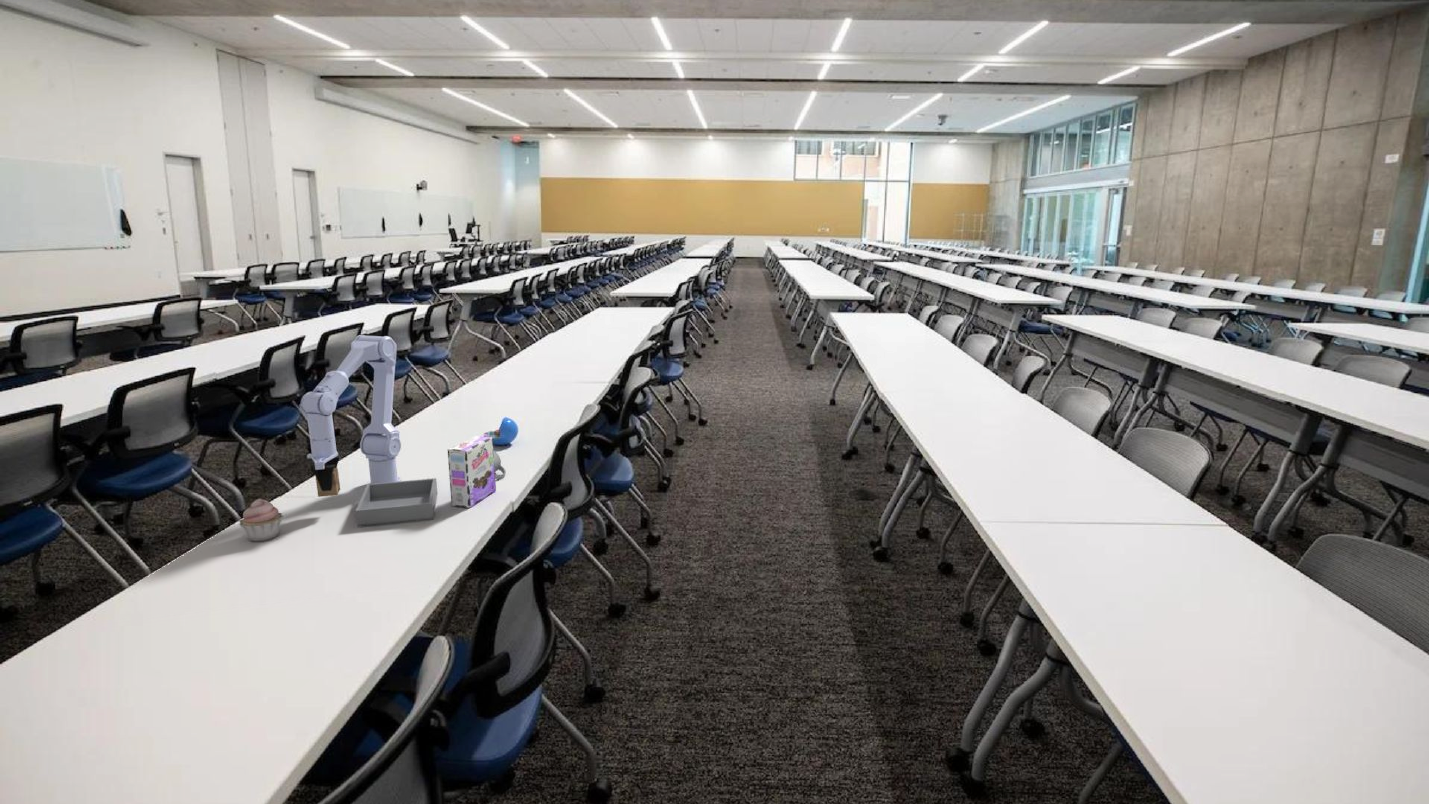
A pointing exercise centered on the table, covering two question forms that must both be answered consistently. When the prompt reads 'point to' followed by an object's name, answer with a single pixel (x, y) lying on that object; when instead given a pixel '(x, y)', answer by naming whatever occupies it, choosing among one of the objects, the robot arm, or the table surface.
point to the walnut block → (335, 485)
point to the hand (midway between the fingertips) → (328, 486)
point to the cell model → (504, 432)
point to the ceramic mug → (498, 466)
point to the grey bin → (397, 502)
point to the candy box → (471, 471)
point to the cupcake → (261, 521)
